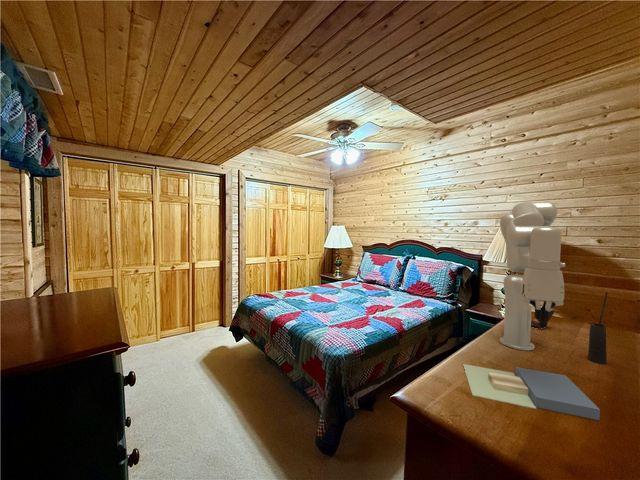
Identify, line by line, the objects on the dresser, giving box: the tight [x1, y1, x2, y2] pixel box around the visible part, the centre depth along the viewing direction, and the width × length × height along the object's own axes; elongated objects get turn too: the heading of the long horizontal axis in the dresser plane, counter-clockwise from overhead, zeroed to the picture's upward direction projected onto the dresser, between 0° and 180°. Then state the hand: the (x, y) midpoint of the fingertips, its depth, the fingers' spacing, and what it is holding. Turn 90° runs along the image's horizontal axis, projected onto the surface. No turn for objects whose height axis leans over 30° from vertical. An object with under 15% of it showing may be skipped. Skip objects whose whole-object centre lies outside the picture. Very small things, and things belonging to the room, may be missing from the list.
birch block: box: [488, 372, 529, 395], centre depth 85 cm, size 7×9×2 cm
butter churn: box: [587, 291, 608, 365], centre depth 104 cm, size 9×10×28 cm
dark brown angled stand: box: [531, 309, 556, 330], centre depth 140 cm, size 9×12×10 cm
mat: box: [462, 363, 537, 410], centre depth 87 cm, size 20×16×1 cm
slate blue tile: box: [514, 366, 601, 421], centre depth 81 cm, size 18×14×3 cm
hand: (540, 320), depth 85 cm, fingers closed
